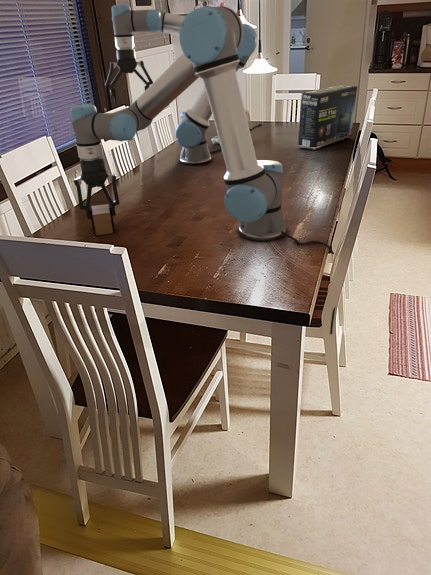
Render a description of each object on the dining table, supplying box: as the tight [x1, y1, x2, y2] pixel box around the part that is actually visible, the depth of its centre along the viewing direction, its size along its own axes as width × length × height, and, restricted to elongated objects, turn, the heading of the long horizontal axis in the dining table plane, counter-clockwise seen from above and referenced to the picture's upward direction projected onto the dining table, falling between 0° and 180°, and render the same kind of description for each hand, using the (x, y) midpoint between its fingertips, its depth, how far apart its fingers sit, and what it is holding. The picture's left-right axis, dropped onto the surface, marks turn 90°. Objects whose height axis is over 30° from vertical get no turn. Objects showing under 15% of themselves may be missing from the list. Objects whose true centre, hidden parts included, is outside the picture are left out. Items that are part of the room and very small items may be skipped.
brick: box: [91, 203, 114, 236], centre depth 154 cm, size 8×6×7 cm, turn 15°
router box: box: [297, 84, 358, 151], centre depth 238 cm, size 36×11×27 cm, turn 134°
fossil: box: [210, 135, 220, 145], centre depth 251 cm, size 18×11×15 cm
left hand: (131, 103), depth 200 cm, fingers open, 13 cm apart
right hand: (103, 225), depth 156 cm, fingers closed on brick, 6 cm apart
